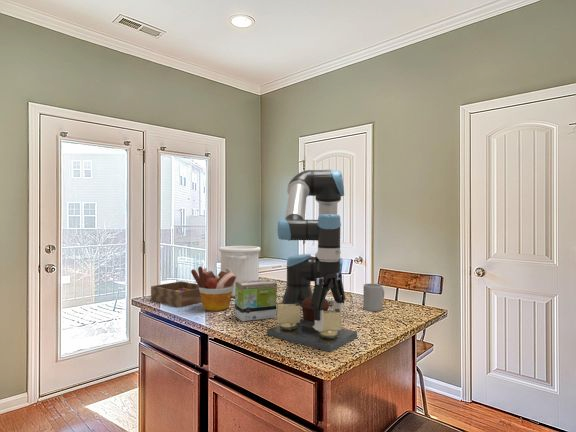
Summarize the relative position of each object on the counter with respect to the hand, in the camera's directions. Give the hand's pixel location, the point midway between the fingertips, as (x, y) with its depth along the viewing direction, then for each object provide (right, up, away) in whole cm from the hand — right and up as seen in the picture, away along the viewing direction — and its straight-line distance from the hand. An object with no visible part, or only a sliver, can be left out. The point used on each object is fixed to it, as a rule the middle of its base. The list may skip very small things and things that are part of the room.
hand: (328, 325), depth 124 cm
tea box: (-27, -6, +31) cm, 41 cm away
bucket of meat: (-47, -5, +44) cm, 65 cm away
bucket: (-40, -5, +77) cm, 87 cm away
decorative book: (-67, -5, +59) cm, 89 cm away
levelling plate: (-5, -5, +6) cm, 10 cm away
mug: (+27, -6, +46) cm, 54 cm away
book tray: (-67, -5, +59) cm, 89 cm away
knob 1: (-13, -3, +9) cm, 16 cm away
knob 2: (0, -3, 0) cm, 3 cm away
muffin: (-3, -6, +25) cm, 25 cm away
